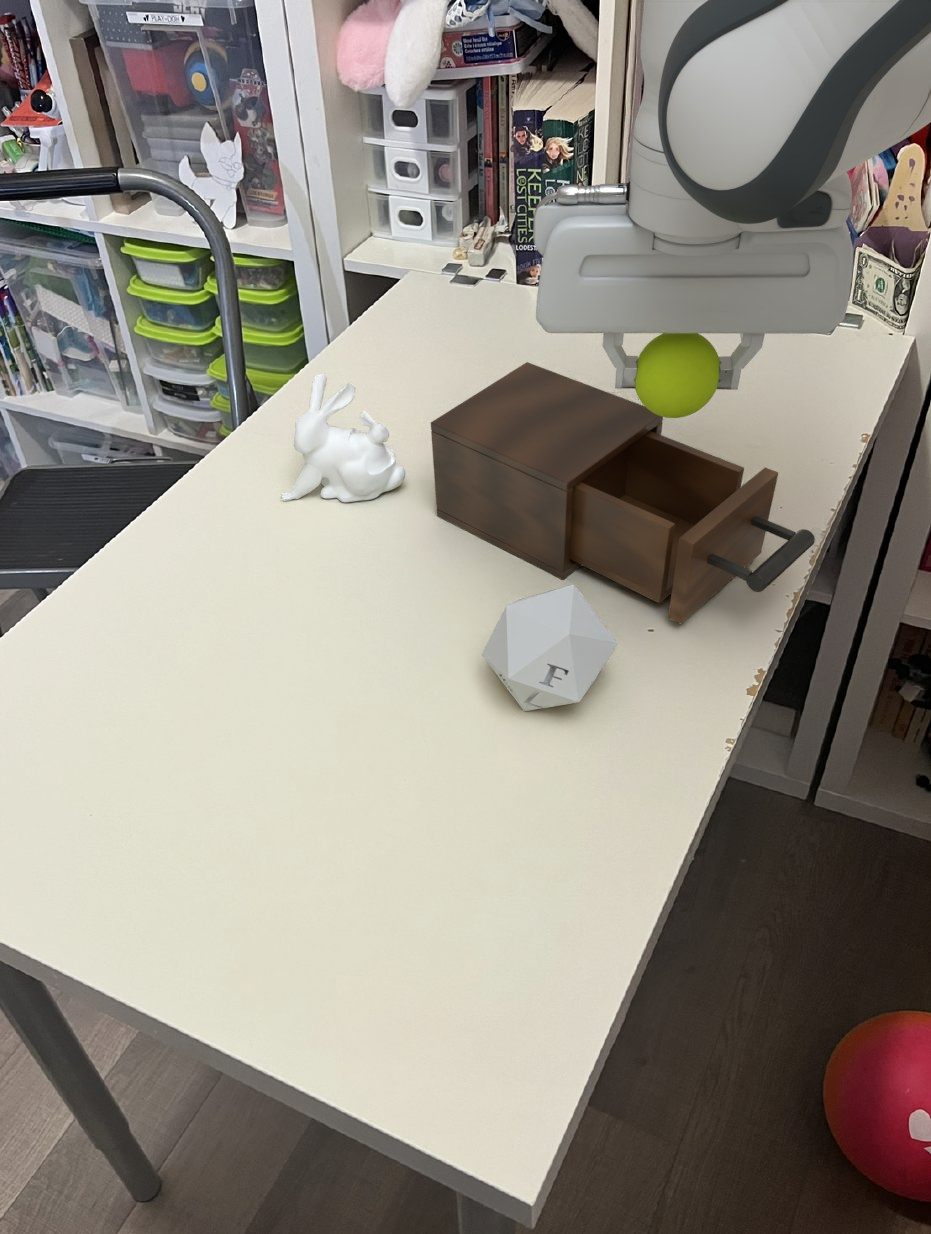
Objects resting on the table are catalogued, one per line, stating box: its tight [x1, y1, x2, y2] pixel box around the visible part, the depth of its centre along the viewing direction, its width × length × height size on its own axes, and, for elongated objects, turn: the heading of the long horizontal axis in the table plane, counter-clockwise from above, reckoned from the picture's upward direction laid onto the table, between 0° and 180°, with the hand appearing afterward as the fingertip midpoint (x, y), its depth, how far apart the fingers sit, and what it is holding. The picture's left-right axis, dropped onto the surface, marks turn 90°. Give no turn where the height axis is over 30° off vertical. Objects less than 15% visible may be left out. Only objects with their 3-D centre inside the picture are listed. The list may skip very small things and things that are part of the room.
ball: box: [634, 333, 720, 419], centre depth 74 cm, size 6×6×6 cm
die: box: [481, 584, 619, 712], centre depth 75 cm, size 8×9×10 cm
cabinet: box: [430, 361, 664, 581], centre depth 89 cm, size 15×13×10 cm
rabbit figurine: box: [279, 373, 406, 503], centre depth 95 cm, size 12×8×10 cm, turn 78°
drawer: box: [570, 431, 816, 625], centre depth 82 cm, size 18×11×8 cm, turn 45°
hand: (675, 385), depth 74 cm, fingers closed on ball, 6 cm apart
